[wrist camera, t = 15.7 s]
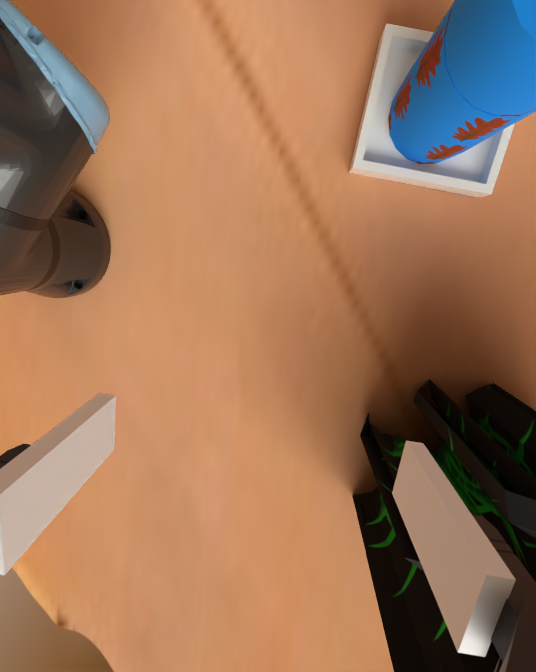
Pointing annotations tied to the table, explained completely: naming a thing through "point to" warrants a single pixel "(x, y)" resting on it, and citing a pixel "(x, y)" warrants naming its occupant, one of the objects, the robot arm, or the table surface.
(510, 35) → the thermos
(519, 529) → the decorative plant
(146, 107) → the table surface
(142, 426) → the table surface
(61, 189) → the robot arm
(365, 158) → the tray
